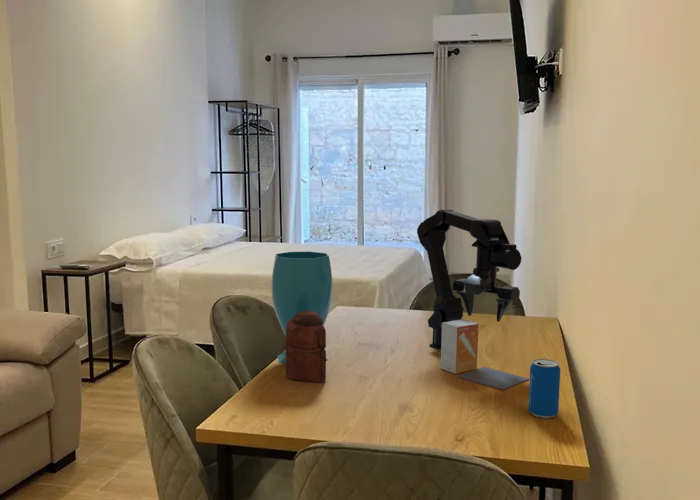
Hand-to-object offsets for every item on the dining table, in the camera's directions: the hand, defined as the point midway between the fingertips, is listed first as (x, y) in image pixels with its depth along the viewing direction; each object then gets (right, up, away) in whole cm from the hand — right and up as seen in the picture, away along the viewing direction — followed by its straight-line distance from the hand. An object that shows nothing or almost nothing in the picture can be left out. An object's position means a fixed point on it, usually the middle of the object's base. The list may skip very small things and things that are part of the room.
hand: (483, 318), depth 186 cm
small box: (-8, -13, -6) cm, 17 cm away
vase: (-52, -12, +3) cm, 53 cm away
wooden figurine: (-49, -14, -15) cm, 54 cm away
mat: (-1, -14, -14) cm, 20 cm away
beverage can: (+5, -18, -39) cm, 43 cm away
